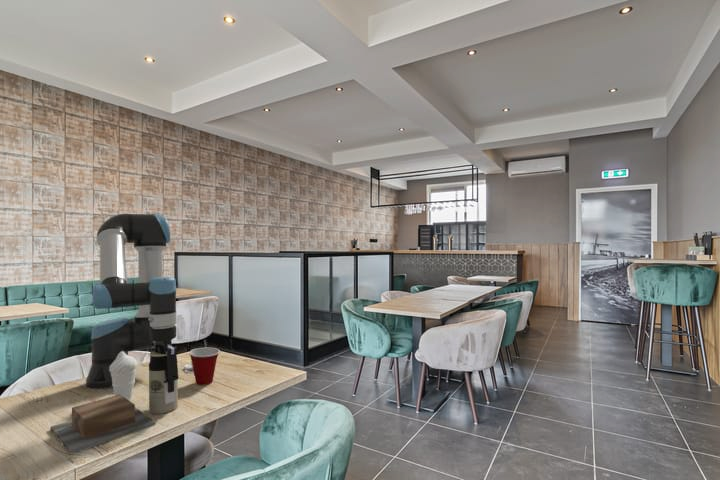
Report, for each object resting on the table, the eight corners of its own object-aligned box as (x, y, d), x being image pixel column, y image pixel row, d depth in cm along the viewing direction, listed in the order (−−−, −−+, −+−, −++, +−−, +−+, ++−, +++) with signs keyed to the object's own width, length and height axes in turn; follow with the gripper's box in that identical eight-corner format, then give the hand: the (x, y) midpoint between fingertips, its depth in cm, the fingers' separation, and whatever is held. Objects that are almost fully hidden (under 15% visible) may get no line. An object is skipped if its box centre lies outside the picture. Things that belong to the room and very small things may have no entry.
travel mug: (164, 402, 124) (164, 347, 125) (183, 405, 121) (182, 349, 122) (143, 412, 117) (142, 354, 117) (162, 416, 114) (161, 356, 114)
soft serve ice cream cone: (143, 395, 130) (143, 349, 130) (121, 405, 122) (121, 356, 122) (125, 393, 133) (125, 347, 133) (102, 402, 125) (102, 353, 125)
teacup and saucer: (181, 370, 158) (181, 360, 158) (200, 365, 164) (200, 356, 164) (188, 375, 152) (188, 365, 152) (208, 370, 157) (208, 360, 157)
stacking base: (50, 430, 106) (50, 408, 106) (129, 406, 121) (129, 387, 122) (70, 454, 93) (69, 430, 93) (155, 424, 109) (155, 403, 109)
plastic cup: (209, 388, 136) (209, 355, 136) (182, 386, 138) (182, 354, 138) (225, 378, 146) (225, 347, 147) (200, 376, 148) (200, 346, 149)
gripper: (137, 324, 123) (137, 394, 123) (165, 333, 110) (165, 411, 110) (161, 320, 129) (161, 387, 129) (190, 328, 116) (191, 403, 115)
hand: (163, 398), depth 119 cm, fingers closed on travel mug, 8 cm apart
